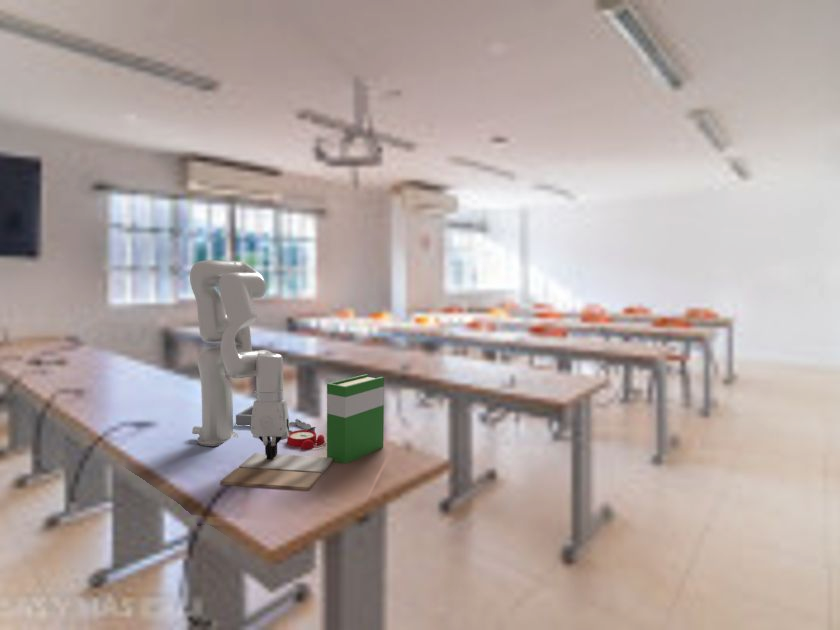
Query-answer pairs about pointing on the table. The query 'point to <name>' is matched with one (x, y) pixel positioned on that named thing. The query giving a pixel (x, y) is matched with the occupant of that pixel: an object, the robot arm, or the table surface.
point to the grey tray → (244, 417)
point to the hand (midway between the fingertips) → (271, 457)
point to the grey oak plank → (288, 463)
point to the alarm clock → (304, 439)
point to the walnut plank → (271, 478)
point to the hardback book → (354, 417)
